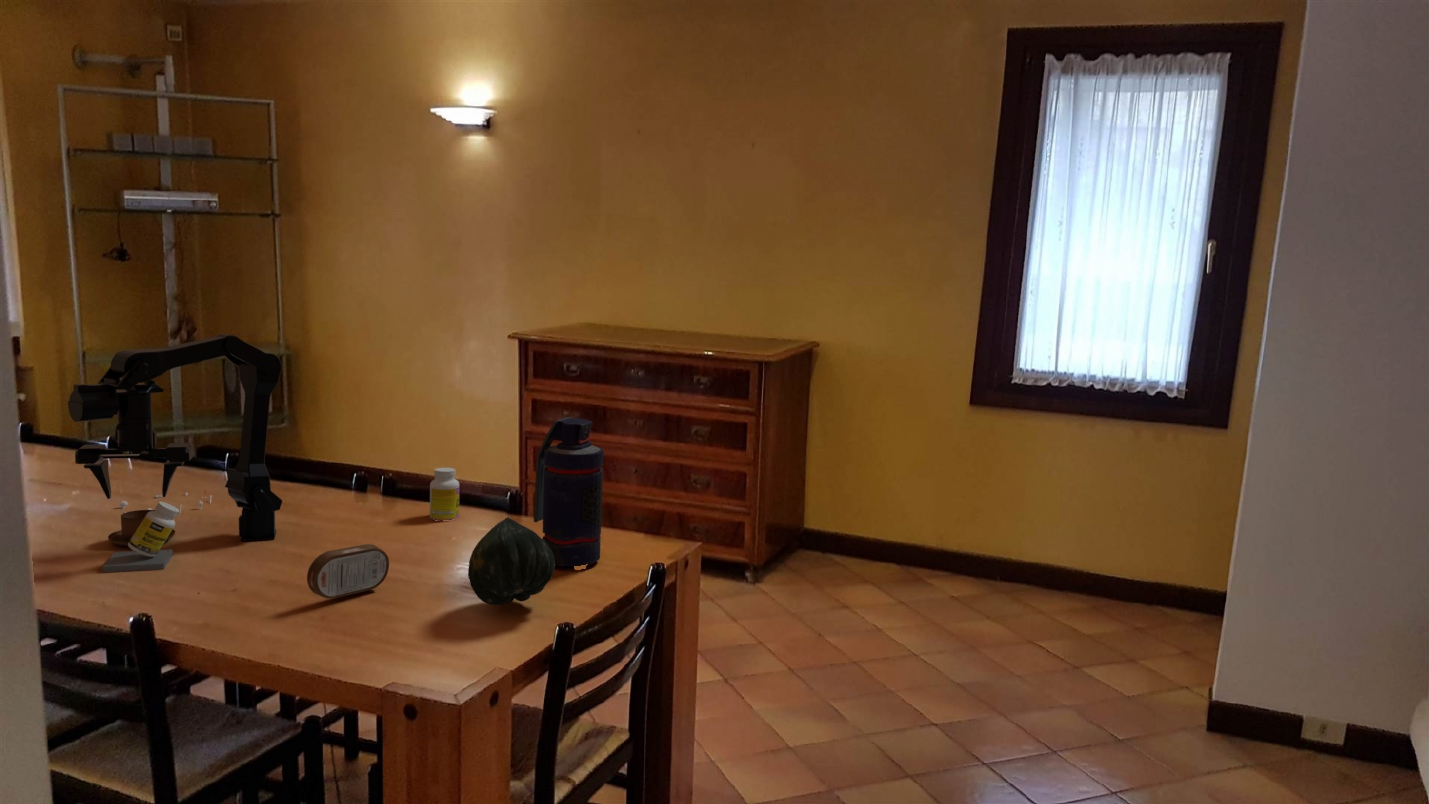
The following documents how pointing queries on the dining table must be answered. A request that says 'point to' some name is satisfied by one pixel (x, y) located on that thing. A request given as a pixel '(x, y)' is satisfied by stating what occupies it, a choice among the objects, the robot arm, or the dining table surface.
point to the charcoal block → (137, 561)
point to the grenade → (570, 492)
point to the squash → (510, 564)
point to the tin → (348, 571)
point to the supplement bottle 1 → (154, 530)
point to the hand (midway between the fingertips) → (137, 497)
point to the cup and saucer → (130, 527)
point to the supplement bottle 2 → (444, 495)
